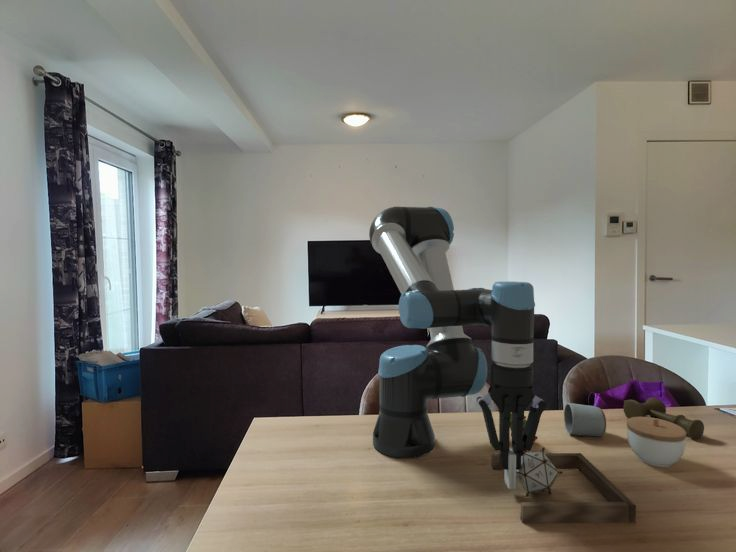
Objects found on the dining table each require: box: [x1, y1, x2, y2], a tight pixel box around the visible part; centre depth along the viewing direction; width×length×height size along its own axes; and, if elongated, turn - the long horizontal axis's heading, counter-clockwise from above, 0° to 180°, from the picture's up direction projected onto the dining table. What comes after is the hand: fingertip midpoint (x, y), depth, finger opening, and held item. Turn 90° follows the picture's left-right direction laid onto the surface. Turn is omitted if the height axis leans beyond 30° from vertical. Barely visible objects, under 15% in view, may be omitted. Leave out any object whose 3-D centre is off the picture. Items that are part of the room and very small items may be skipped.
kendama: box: [623, 396, 705, 440], centre depth 107 cm, size 6×10×20 cm
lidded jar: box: [626, 416, 687, 468], centre depth 88 cm, size 11×11×9 cm
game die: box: [516, 446, 565, 498], centre depth 77 cm, size 9×8×10 cm
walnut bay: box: [490, 452, 637, 524], centre depth 77 cm, size 19×18×3 cm
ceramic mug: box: [563, 402, 607, 437], centre depth 103 cm, size 11×8×8 cm
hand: (510, 485), depth 76 cm, fingers closed
